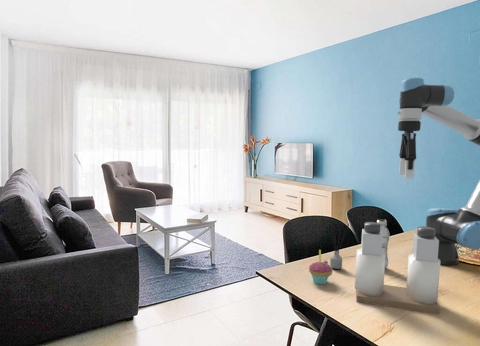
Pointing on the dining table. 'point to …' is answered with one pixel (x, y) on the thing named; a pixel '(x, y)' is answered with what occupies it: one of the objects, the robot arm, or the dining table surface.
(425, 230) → the plunger
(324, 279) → the cupcake
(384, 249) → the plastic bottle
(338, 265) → the reed diffuser
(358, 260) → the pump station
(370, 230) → the plunger
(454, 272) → the dining table surface
